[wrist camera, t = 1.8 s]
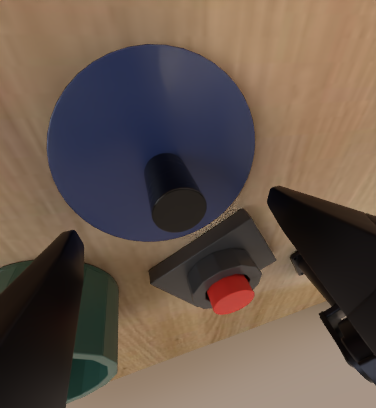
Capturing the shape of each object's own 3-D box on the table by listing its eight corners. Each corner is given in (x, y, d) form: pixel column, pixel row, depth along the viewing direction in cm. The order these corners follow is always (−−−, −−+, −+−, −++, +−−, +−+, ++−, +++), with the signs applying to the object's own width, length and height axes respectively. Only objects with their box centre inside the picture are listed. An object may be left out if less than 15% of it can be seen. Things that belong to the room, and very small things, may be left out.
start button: (250, 281, 19) (260, 298, 18) (217, 300, 20) (224, 318, 19) (236, 267, 17) (245, 284, 15) (199, 289, 17) (205, 308, 16)
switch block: (269, 250, 23) (288, 275, 20) (194, 295, 24) (203, 325, 22) (242, 207, 17) (265, 235, 14) (148, 270, 19) (152, 305, 16)
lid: (267, 172, 15) (316, 211, 12) (150, 252, 17) (159, 308, 13) (188, -28, 8) (253, -115, 4) (-4, 152, 10) (-89, 215, 6)
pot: (142, 287, 20) (148, 360, 15) (66, 336, 22) (50, 416, 17) (30, 237, 13) (-25, 343, 8) (-69, 316, 15) (-163, 442, 10)
